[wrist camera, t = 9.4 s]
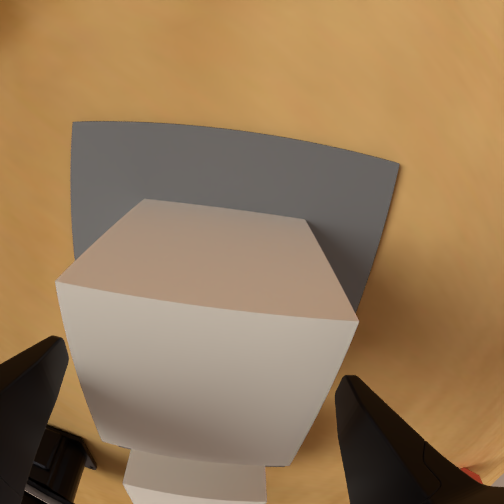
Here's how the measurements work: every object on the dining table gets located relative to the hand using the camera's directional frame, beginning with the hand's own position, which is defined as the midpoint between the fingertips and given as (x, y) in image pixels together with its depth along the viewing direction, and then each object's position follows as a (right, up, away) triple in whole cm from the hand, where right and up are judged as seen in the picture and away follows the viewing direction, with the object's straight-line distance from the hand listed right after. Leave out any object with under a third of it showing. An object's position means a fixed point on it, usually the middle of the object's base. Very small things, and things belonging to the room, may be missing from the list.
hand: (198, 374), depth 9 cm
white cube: (-2, -8, +9) cm, 12 cm away
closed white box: (0, +2, +5) cm, 6 cm away
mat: (-1, -3, +8) cm, 8 cm away
